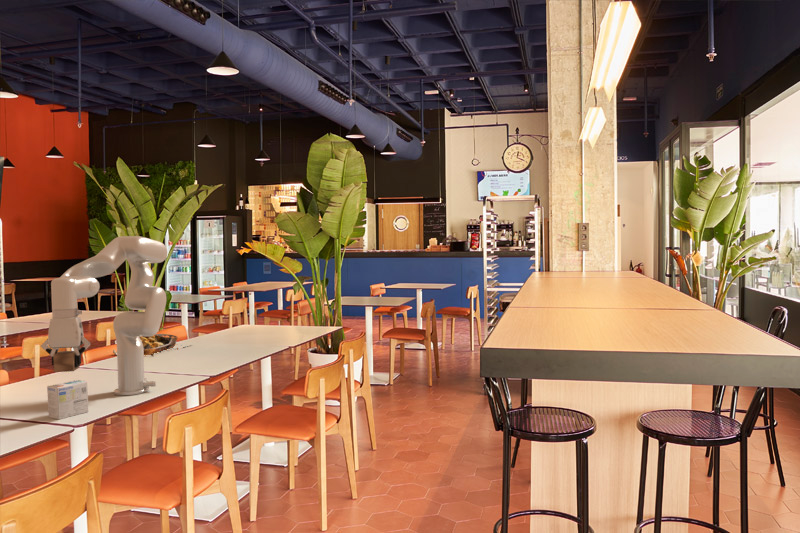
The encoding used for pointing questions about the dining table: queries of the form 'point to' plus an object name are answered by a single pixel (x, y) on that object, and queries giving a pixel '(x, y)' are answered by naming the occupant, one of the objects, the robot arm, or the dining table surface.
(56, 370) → the walnut cube
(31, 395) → the dining table surface
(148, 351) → the food tray
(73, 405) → the light bulb box
